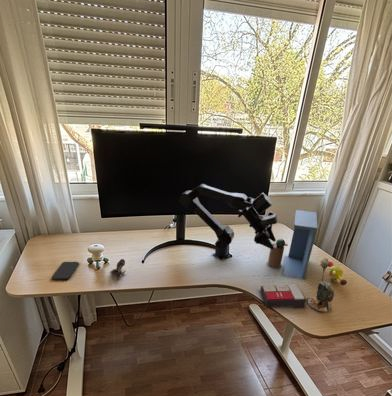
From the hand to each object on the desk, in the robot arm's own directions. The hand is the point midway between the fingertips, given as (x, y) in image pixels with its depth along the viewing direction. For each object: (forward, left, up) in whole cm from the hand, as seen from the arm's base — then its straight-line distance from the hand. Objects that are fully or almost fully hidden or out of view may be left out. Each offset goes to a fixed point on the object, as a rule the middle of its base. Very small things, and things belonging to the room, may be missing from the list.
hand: (274, 244), depth 135 cm
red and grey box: (-19, -22, -11) cm, 31 cm away
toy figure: (+12, -26, -11) cm, 31 cm away
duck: (+1, -1, -10) cm, 10 cm away
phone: (-82, +47, -10) cm, 95 cm away
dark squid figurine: (-64, +31, -11) cm, 72 cm away
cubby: (+8, -8, -10) cm, 15 cm away
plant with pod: (-11, -34, -11) cm, 37 cm away
